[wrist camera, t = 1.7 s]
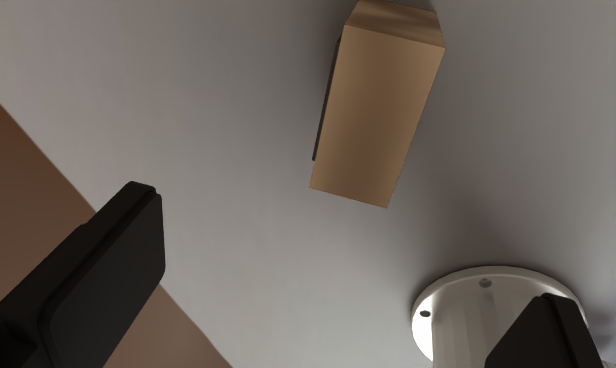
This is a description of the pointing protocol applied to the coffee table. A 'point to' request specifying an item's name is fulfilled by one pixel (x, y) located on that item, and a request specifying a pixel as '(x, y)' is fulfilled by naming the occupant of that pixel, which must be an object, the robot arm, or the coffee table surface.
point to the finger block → (375, 99)
